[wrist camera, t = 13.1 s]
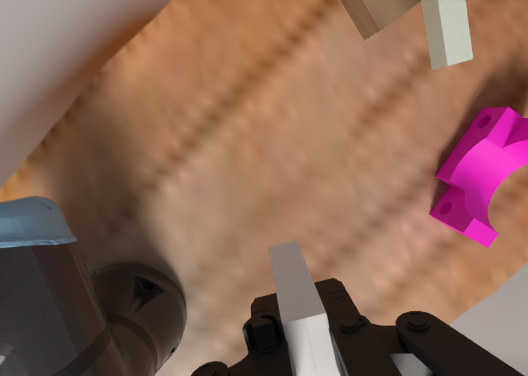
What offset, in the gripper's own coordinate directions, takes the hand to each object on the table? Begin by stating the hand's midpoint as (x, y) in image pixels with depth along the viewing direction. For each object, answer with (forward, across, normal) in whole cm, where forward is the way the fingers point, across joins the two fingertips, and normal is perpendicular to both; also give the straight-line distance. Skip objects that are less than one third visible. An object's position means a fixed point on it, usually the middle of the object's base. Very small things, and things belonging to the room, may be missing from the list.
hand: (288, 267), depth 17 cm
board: (+27, +25, +16) cm, 40 cm away
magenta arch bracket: (+27, +26, -6) cm, 38 cm away
